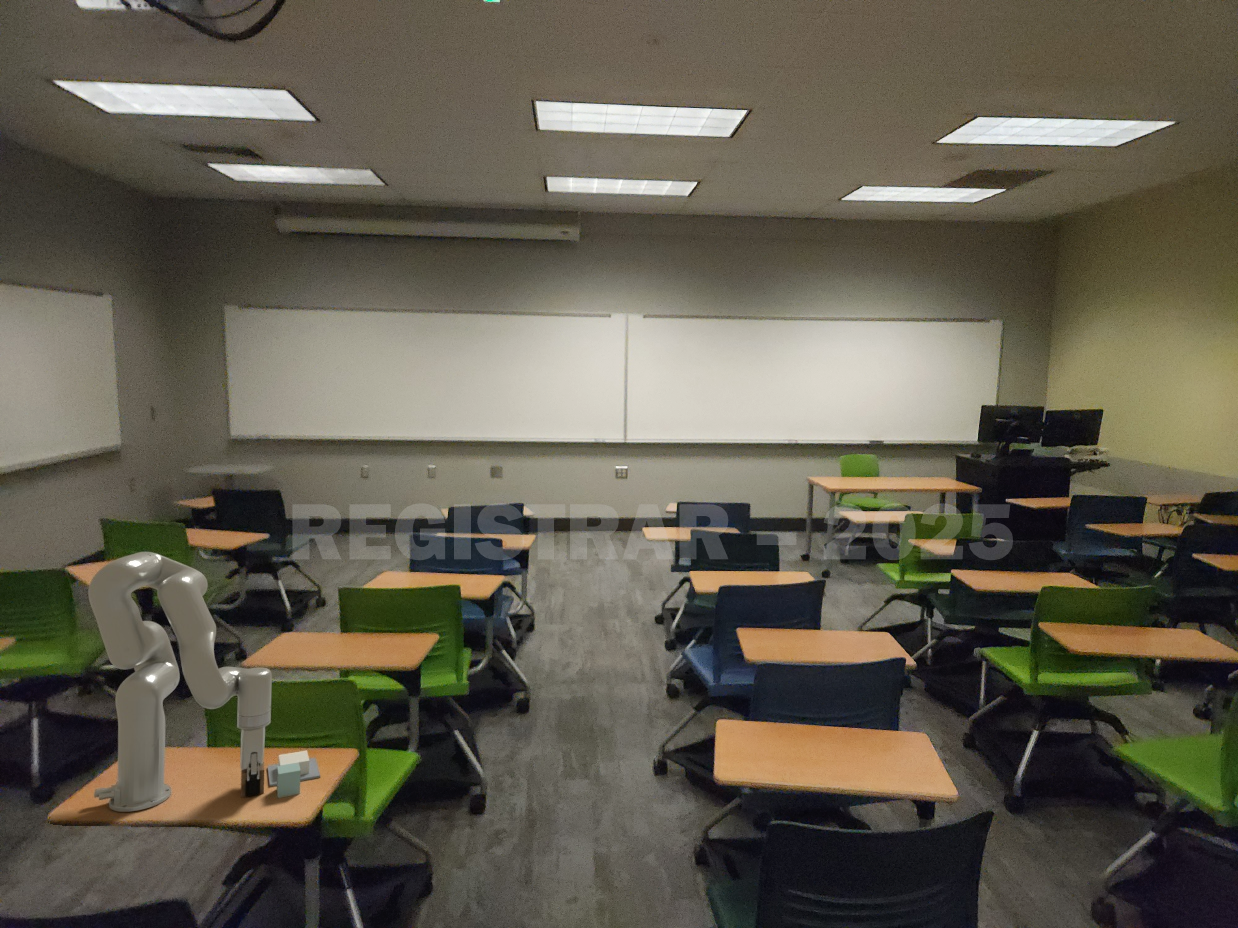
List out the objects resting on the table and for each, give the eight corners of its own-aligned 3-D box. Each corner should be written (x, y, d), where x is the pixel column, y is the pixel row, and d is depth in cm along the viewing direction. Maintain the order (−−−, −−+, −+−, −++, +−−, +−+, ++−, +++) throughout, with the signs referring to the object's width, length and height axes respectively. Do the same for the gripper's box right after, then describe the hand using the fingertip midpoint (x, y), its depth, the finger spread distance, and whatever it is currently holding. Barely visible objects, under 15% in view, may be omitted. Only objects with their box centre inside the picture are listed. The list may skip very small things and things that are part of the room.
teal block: (277, 797, 173) (278, 774, 172) (276, 789, 177) (277, 765, 177) (299, 793, 175) (300, 770, 175) (298, 785, 179) (298, 762, 179)
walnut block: (241, 797, 172) (241, 773, 172) (240, 788, 176) (241, 765, 176) (263, 793, 175) (264, 769, 174) (262, 784, 179) (263, 761, 179)
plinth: (269, 786, 178) (270, 771, 178) (267, 767, 188) (267, 752, 188) (320, 777, 184) (320, 762, 184) (315, 759, 194) (315, 745, 194)
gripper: (236, 709, 181) (235, 778, 181) (237, 733, 166) (235, 808, 166) (269, 705, 185) (267, 772, 185) (272, 727, 170) (270, 801, 170)
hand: (252, 788), depth 175 cm, fingers closed on walnut block, 5 cm apart
